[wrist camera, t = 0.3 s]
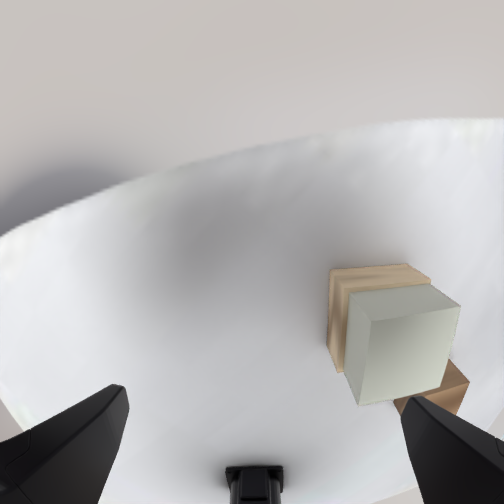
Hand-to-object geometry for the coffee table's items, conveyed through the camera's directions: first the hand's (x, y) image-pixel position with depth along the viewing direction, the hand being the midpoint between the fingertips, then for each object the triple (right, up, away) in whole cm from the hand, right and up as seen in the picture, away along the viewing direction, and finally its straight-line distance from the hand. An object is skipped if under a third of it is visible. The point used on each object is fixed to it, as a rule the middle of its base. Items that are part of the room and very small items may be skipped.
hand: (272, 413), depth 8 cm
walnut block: (+16, -8, +17) cm, 24 cm away
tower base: (+8, +1, +15) cm, 17 cm away
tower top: (+9, 0, +11) cm, 14 cm away
